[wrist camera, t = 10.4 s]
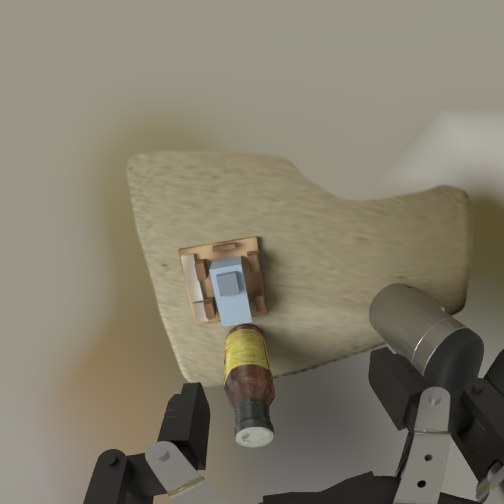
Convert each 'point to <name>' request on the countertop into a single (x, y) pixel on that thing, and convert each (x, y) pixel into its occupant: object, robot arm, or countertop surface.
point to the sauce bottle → (249, 385)
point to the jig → (199, 277)
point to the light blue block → (230, 291)
